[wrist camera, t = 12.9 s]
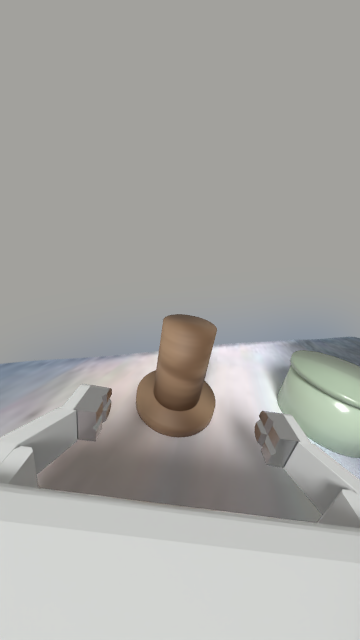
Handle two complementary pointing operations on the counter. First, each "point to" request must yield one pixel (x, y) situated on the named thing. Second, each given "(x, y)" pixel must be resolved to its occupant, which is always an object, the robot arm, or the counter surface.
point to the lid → (179, 379)
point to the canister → (324, 400)
